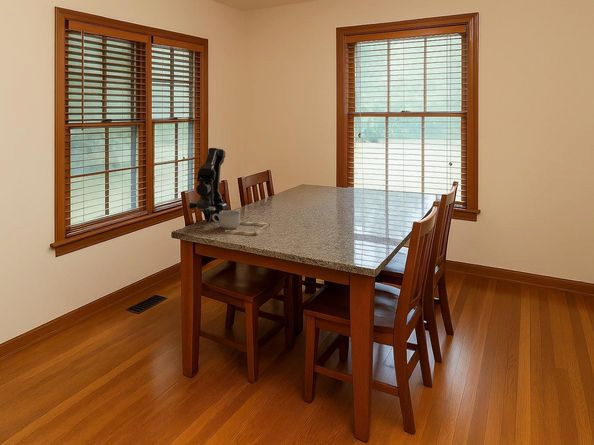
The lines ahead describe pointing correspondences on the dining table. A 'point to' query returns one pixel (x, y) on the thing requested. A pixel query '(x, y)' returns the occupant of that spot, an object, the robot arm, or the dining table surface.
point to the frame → (265, 225)
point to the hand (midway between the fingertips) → (208, 222)
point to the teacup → (228, 219)
